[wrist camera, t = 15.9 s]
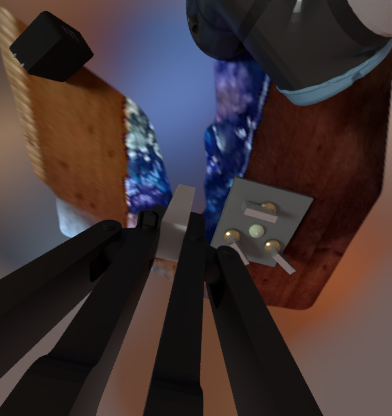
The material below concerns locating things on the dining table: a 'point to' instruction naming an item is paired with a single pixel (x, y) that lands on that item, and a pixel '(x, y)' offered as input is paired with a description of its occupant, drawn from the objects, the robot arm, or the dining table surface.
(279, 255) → the knob
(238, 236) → the knob
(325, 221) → the dining table surface
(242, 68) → the dining table surface
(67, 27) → the electronic device
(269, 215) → the knob
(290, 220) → the base plate
